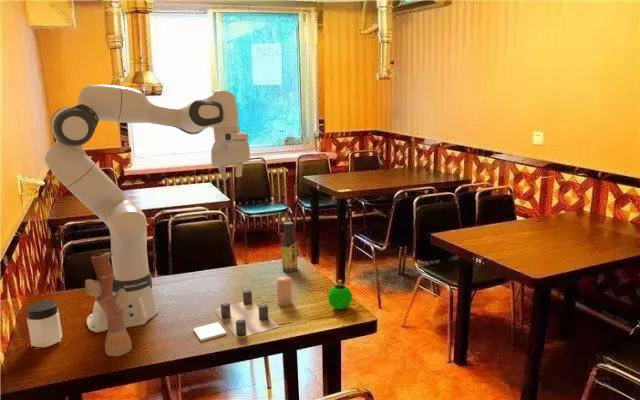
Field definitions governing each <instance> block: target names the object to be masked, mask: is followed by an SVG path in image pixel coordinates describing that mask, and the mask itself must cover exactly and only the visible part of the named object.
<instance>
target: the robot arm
mask: <svg viewBox="0 0 640 400" xmlns="http://www.w3.org/2000/svg"><path fill="white" fill-rule="evenodd" d="M101 121H102V122H105V121H106V122H115V123H121V124H122V123H124V124H125V123H126V124H139V123H140V124H141V123H142V124H154V125H160V126H166V127H168V126H169V127H173V128H176V129H178V130H180V131H182V132H183V133H186V134H189V135H198V134H200V133H201V132H203V131H204V130H206V129H208V128H212V129H213V134H214V142H213V145H212V148H211V150H210V151H211V152H210V157H211V165H212V168H218V171H219V174H220V179H222V180H228V178H229V175H228V173H227V172H226V170H227V169H226V167H229V166H233V165H235V167H236V169H235V170H236V171H234V174H235V175H234V176H235V177H236V178H241V177H242V176H243V168H244V163H247V162H249V160H250V158H251V151H250V144H249V141H248V140H249V139H250V137H249V134H248V133H246V132H244V131H241V129H240V128H241V127H240V125H239V110H238V104H237V100H236V97H235V94H234V93H233V92H230V91H228V90H224V89H220V90H219V89H216V90H213V91H212V92H211V93H210V94H208V95H206V96H205V97H202V98H199V99H196V100H193V101H192V102H191V103H189V104H188V105H186V106H183V107H180V108H179V107H178V108H175V107H170V106H163V105H158V104H154V103H152V102H151V101H150V100H149V99H148V98H147V96H146V95H145V94H144V93H143V92H142V91H140V90H138V89H134V88H131V87H128V86H120V85H115V84H113V85H112V84H88V85H85V86H83V87H82V89H81V90H80V91H79V95H78V99H77V103H76V104H75V105H74V106H66V107H65V106H64V107H61V108H58V109H57V110H56V111H55V112H54V113H53V114H52V116H51V118H50V124H49V125H50V131H51V133H52V137H53V141H54V144H53V146H51V147H50V148H49V149H48V151H47V153H46V154H45V158H44V160H45V164H46V166H47V167H48V168H49V170H50V171H51V173H53V175H54V177H56V178H57V180H58V181H59V182H60V183H61V184H62V185H63V186H64V187H65V188H66V189H67V190H68V191H69V192H70V193H72V195H73V196H74V197H76V198H77V200H79V201H80V203H82V204H83V205H84V206H85V207H86V208H88V209H89V210H90V211H91V212H92V213H93V214H94V215H95V216H97V217H98V218H99V219H100V220H101V221H102V222H103V223H104V224H105V225H106V226H107V227H108V230H109V234H110V235H109V238H110V250H111V251H110V252H111V253H112V254H113V255H112V256H111V257H110V258H111V266H112V269H113V273H114V277H113V288H112V294H113V297H114V296H115V294H116V293H117V292H118V290H120V289H124V290H125V291H126V293H127V295H128V303H127V305H126V307H125V308H124V309H123V312H124V324H125V328H131V327H136V326H142V325H145V324H146V323H147V322H148V321H149V320H151V319H152V318H154V317H155V316H156V315H157V314H159V307H158V306H157V303H156V300H155V298H154V297H155V296H154V293H153V289H152V288H153V280H152V274H151V272H150V268H149V259H148V252H147V251H148V249H147V243H148V242H147V241H148V231H147V230H148V229H147V226H148V225H147V223H148V222H147V217H146V215H145V213H144V212H143V210H141V209H140V208H139V207H138V205H136V204H135V203H134V201H133V200H131V199H130V197H129V196H128V195H126V194H125V192H124V191H122V189H120V187H119V186H118V185H117V184H116V183H115V182H114V181H113V180H112V179H111V178H110V176H108V175H107V174H106V173H105V172H104V171H103V170H102V169H101V167H99V165H97V164H96V162H95V161H93V160H92V159H91V158H90V156H88V154H87V153H86V151H85V149H84V147H83V145H85V144H86V143H88V142H89V141H90V140H92V139H91V138H92V137H93V136H94V134H95V131H96V128H97V126H98V124H99V122H101ZM86 326H88V327H87V328H88V330H89V329H90V330H89V331H91V332H93V331H94V332H93V333H101V331H102V332H107V331H106V330H108V322H107V316H106V314H105V312H104V311H103V309H102V308H101V307H100V305H99V304H98V302H97V301H96V300H95V301H94V304H93V310H92V313H90V314H89V315H88V316H87V318H86Z"/></svg>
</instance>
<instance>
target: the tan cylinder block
mask: <svg viewBox="0 0 640 400" xmlns="http://www.w3.org/2000/svg"><path fill="white" fill-rule="evenodd" d="M276 294H277V295H276V296H277V297H276V299H277V306H280V307H290V306H291V305H292V304H293V294H292V278H291V277H290V276H278V277H276Z"/></svg>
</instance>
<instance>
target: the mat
mask: <svg viewBox="0 0 640 400" xmlns="http://www.w3.org/2000/svg"><path fill="white" fill-rule="evenodd" d="M192 329H193V330H192V331H193V333H194V334H195V335H196V337H197V338H198V340H199V341H200V342H206V341H209V340H212V339H215V338H220V337H223V336H227V331H226V329H224V328H223V327H222V325H221V324H220V323H219V322H218V321H217V322H213V323H209V324H205V325H203V326H202V325H201V326H198V327H195V328H192Z"/></svg>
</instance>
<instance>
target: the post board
mask: <svg viewBox="0 0 640 400" xmlns="http://www.w3.org/2000/svg"><path fill="white" fill-rule="evenodd" d="M252 296H253V295H252V290H250V289H248V290H244V291H242V301H240V302H237V303H233V304H232V303H228V302H223V303H221V304H220V307H217V308H212V311H213V312H214V314H216V315H217V317H219V319H220V320H221V321H222V322H223V324H224V325H225V326H226V328H228V329H229V331H230V332H231V333H232V334H233V335H234V336H235V338H236V339H237V340H240V339H242V338H243V339H244V338H247V337H250V336H253V335H257V334H260V333H264V332H269V331H271V330H273V329H274V330H275V329H278V328H281V327H280V325H279V324H278V323H276V322H275V320H273V319H272V318H271V317H270V316H269V305H268V304H260V305H259V306H258V305H257V303H255V302H254V301H253V297H252Z"/></svg>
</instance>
